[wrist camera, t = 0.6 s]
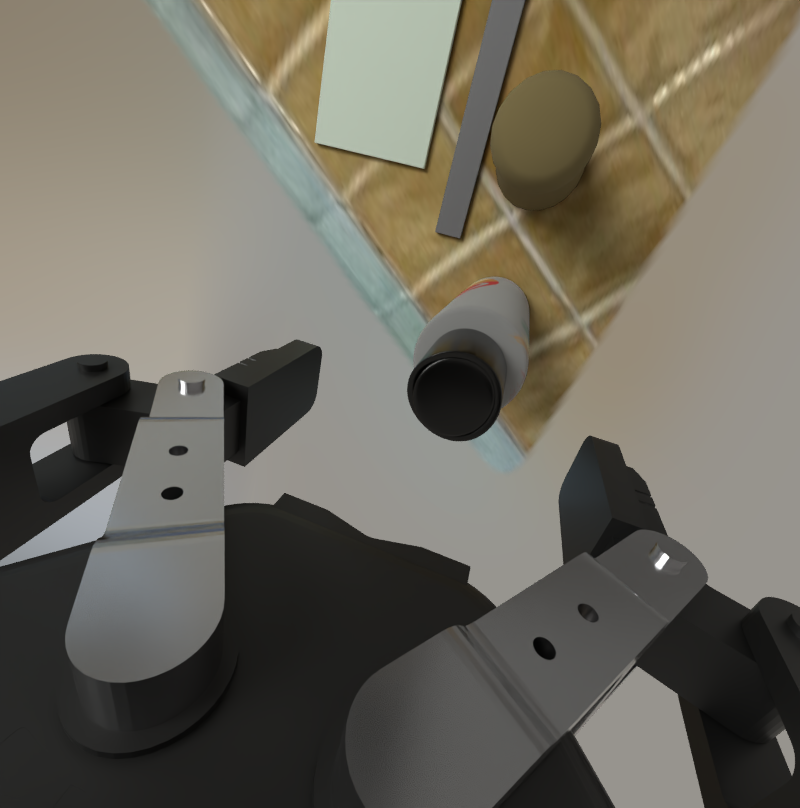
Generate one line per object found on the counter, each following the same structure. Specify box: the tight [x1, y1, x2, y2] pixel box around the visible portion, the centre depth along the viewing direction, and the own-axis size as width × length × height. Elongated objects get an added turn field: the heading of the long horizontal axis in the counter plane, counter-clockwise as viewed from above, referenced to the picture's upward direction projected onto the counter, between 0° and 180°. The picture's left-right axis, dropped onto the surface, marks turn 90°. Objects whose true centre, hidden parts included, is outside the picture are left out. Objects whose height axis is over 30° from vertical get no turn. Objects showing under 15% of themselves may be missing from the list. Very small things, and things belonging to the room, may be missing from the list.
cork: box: [490, 70, 601, 210], centre depth 24 cm, size 6×6×11 cm
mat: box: [315, 0, 462, 169], centre depth 29 cm, size 12×9×1 cm
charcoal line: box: [435, 0, 526, 238], centre depth 29 cm, size 16×2×1 cm, turn 166°
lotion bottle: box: [407, 277, 529, 441], centre depth 25 cm, size 6×6×20 cm
